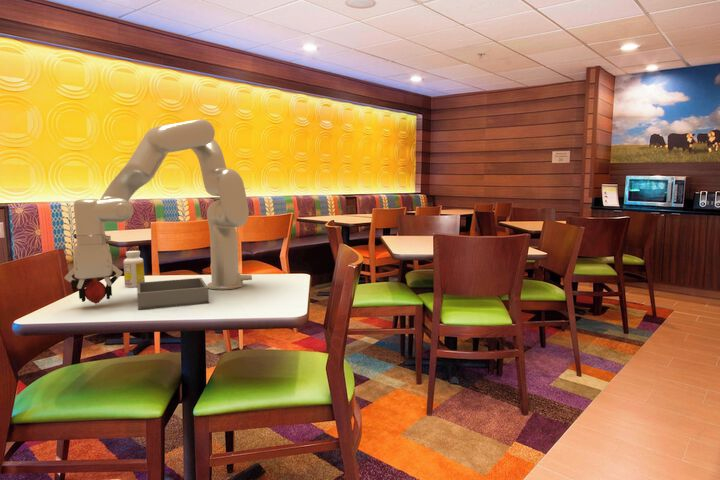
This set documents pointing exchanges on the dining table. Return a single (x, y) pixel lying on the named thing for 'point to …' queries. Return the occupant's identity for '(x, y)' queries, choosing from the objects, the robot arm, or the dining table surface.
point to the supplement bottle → (133, 269)
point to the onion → (95, 291)
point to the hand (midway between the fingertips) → (96, 299)
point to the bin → (172, 293)
